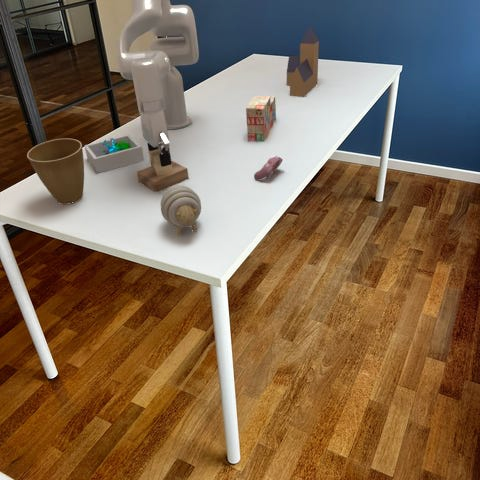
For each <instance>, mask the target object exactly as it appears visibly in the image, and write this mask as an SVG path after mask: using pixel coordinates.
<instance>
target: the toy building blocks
mask: <svg viewBox="0 0 480 480" xmlns="http://www.w3.org/2000/svg"><path fill="white" fill-rule="evenodd" d="M319 44H320V40H319V39H318V37H317V35H316V34H315V32H314V31H313V28H312V26H309V28H308V29H307V30H306V33H305V34H304V36H303V38H302V40H301V41H300V43H299V56H298V55H289V56H288V61H287V68H286V86H287V87H289V96H290V97H299V98H305V97H306V95H307V94H308V93H310V92H311V91H312V90H313V89H314V88H315V87H316V86H317V85H318V80H319V77H318V75H319V74H318V73H319V51H320V49H319Z"/></svg>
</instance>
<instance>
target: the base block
mask: <svg viewBox="0 0 480 480" xmlns="http://www.w3.org/2000/svg"><path fill="white" fill-rule="evenodd" d="M171 162H172V168H173V171H172V172H169V173H165V174H162V175H159V176H158V175H156V174H155V173H154V172H153V171H152V170H151V165H150V166H147V167H146V168H143V169H141V170H139V171H136V176H137V180H138V183H139V184H141V185H142V186H144V187H146V188H148V189H150V190H151V191H153V192H155V193H160V192H161V191H165V190H167V189H168V188H169V187H171V186H174V185H179V183H180V184H181V183H182V182H184V181H186V180H188V179H189V171H188V168H187V167H185V166H183V165H182V164H179V163H178V162H176V161H173V160H171Z"/></svg>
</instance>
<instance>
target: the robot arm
mask: <svg viewBox="0 0 480 480" xmlns="http://www.w3.org/2000/svg"><path fill="white" fill-rule="evenodd" d="M131 12H132V13H131V17H130V18H129V19H128V21H127V22H126V23H125V25H124V26H123V28H122V29H121V32H120V34H119V35H118V40H117V60H118V61H117V62H118V63H117V64H118V70H119V73H120V75H121V77H122V78H123V79H125V80H128V81H133V86H134V92H135V96H136V97H135V98H136V103H137V108H138V112H139V116H140V125H141V131H142V132H141V133H142V137H143V139H144V140H145V141H146V143H147V144H146V145H147V149H148V152H150V151H153V150H157V149H159V152H160V154H159V157H160V163H161V166H162V167H164V166H168V165H171V164H172V163H171V161H172V156H170V155H171V150H170V149H171V148H170V139H169V131H168V130H179V129H184V128H186V127H189V126H190V125H191V123H192V118H191V116H188V115H187V114H188V113H187V108H186V107H187V106H186V99H185V98H186V97H185V90H184V83H183V77H182V74H181V73H180V72H179V70H178V69H177V68H176V67H177V66H189V65H193V64H194V65H195V64H196V63H198V61H199V56H200V53H199V43H198V36H197V35H198V34H197V27H196V21H195V20H196V19H195V15H194V12H193V10H192V7H190V6H189V5H187V4H178V5H177V4H175V5H172V4H171V1H170V0H131ZM149 31H150V32H151V34H152V35H153V36H154V37H160V38H156V39H154V40H152V41H151V42H150V44H149V49H148V50H143V51H142V50H141V51H130V48H131V46H132V44H133V42H135V41H136V40H137V39H138V38H139V37H141V36H142V35H144V34H146V33H147V32H148V33H149ZM161 148H163V149H161Z"/></svg>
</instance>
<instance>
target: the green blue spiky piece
mask: <svg viewBox="0 0 480 480" xmlns="http://www.w3.org/2000/svg"><path fill="white" fill-rule="evenodd" d="M113 138H114V137H111V138H110V139H111V140H112V145H113V147H112V146H110V145H108V144H107V143H106V140H107V139H105V141H104V140H103V141H104V142H105V143H104V144H105V145H106V146H107V147H108V148H109V150H107V151H103V153H106V152H108V153H106V154H105V155H107V154H111V153H115V152H119V151H122V150H126V149H130V146H129V145H128V144H127V143H126V142H121V143H117V142H116V143H115V144H114V141H113ZM104 144H103V145H104Z"/></svg>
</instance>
